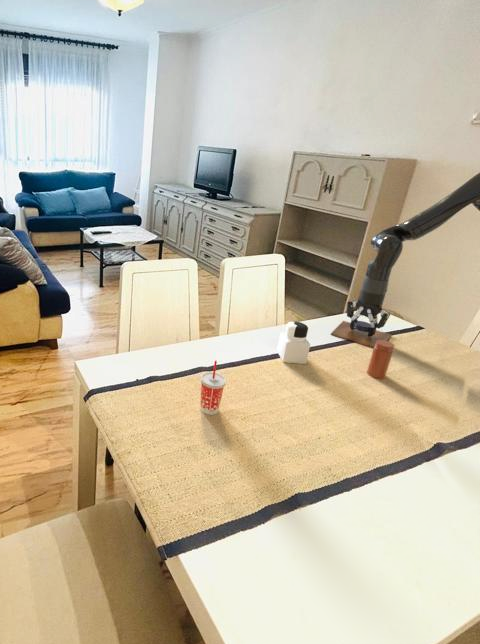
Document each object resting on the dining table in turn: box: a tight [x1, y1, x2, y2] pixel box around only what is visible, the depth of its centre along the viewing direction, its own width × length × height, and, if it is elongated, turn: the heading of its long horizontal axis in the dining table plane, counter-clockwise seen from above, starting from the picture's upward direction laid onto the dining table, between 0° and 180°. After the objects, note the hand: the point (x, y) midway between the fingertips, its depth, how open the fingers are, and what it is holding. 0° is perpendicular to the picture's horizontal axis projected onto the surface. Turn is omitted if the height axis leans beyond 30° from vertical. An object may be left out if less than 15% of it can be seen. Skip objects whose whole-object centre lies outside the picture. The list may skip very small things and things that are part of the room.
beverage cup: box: [199, 360, 227, 416], centre depth 95 cm, size 6×6×14 cm
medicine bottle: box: [276, 321, 311, 365], centre depth 122 cm, size 7×7×12 cm
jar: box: [366, 340, 395, 380], centre depth 114 cm, size 5×5×11 cm
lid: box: [354, 320, 371, 332], centre depth 140 cm, size 6×6×2 cm
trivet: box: [330, 320, 391, 349], centre depth 141 cm, size 16×16×1 cm
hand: (361, 332), depth 141 cm, fingers closed on lid, 5 cm apart
